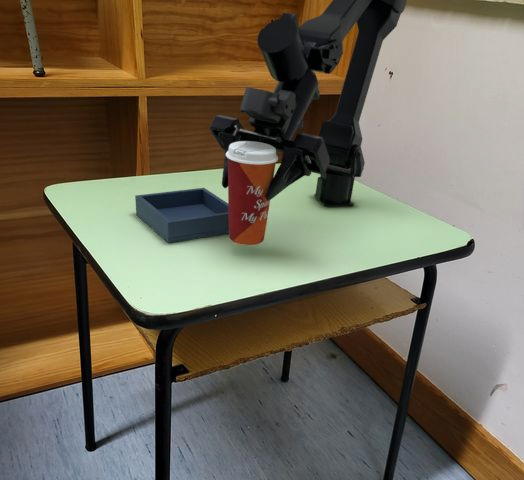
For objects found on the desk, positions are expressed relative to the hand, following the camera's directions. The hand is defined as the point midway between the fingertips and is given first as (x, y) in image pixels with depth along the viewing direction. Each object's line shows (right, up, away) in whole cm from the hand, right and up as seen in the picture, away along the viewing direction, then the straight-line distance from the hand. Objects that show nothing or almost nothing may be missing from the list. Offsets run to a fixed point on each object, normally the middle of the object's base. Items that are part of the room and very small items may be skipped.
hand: (244, 192), depth 80 cm
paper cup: (0, -6, +6) cm, 8 cm away
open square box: (-11, -1, +15) cm, 18 cm away
